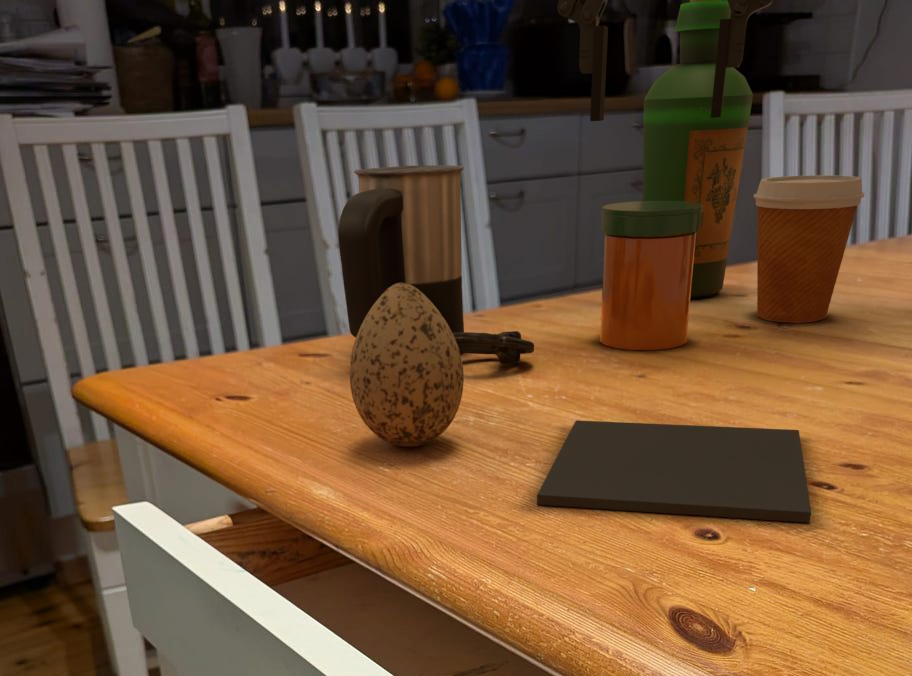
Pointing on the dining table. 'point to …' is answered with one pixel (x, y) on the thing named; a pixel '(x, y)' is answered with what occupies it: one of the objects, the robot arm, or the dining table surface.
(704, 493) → the mat
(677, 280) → the jam jar
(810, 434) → the dining table surface
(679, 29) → the bottle
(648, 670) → the dining table surface
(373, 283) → the milk frother
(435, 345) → the decorative egg
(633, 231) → the jar lid
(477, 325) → the dining table surface
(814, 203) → the disposable coffee cup
